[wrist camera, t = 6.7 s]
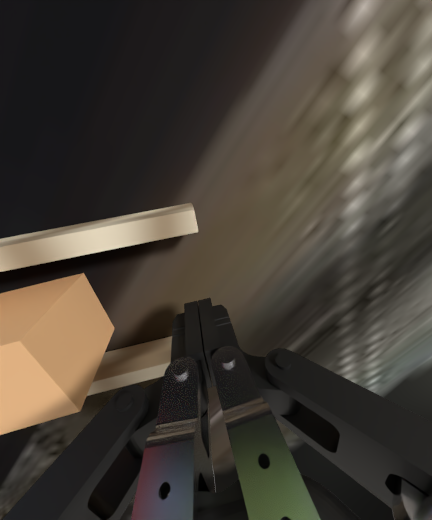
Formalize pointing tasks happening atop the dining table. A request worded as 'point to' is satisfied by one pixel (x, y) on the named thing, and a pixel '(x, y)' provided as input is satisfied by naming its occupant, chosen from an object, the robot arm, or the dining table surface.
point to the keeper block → (49, 350)
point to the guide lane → (97, 240)
